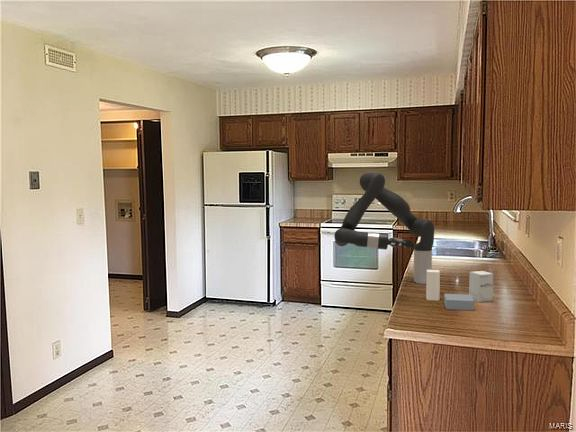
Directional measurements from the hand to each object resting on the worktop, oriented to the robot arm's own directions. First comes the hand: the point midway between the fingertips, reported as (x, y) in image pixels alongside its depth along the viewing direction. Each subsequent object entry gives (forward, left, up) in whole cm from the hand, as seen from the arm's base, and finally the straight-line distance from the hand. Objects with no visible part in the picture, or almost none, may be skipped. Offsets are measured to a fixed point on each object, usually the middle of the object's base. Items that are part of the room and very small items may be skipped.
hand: (413, 244), depth 223 cm
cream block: (0, +9, -25) cm, 27 cm away
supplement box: (-2, +30, -25) cm, 39 cm away
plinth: (+11, +19, -25) cm, 33 cm away
